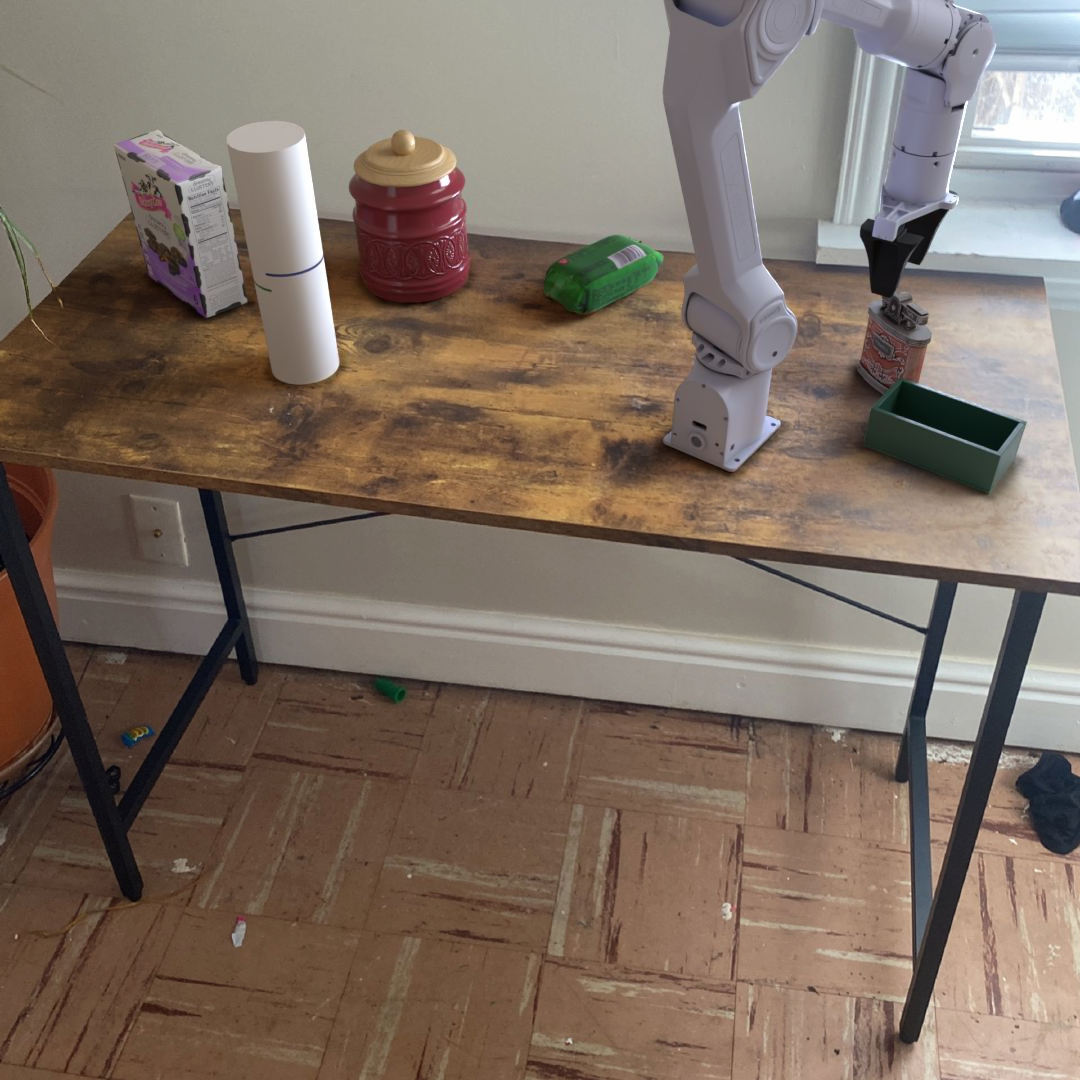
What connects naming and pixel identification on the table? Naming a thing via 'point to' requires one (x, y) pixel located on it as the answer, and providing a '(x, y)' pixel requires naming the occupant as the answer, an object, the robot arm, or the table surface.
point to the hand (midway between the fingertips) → (896, 277)
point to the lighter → (894, 341)
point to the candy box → (182, 222)
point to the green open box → (944, 434)
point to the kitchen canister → (410, 219)
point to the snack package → (601, 273)
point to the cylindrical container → (285, 249)
